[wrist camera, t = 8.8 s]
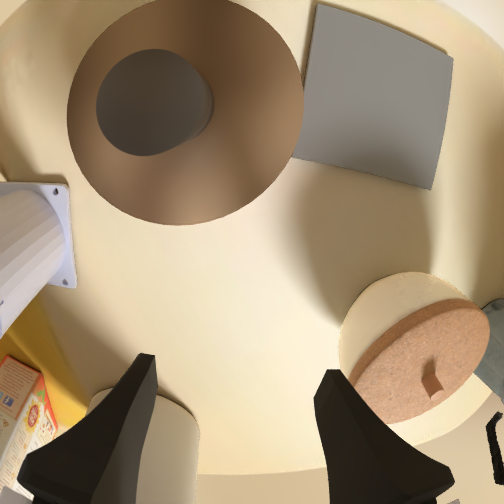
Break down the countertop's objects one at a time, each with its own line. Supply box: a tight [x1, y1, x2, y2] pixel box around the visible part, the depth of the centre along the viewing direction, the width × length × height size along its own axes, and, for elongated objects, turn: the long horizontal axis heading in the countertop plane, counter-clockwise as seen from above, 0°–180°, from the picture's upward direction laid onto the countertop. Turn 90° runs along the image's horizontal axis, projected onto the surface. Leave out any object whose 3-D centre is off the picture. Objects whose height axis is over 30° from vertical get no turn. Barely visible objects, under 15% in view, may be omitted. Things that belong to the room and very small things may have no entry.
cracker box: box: [0, 355, 58, 500], centre depth 18 cm, size 14×6×21 cm, turn 159°
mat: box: [291, 4, 453, 190], centre depth 15 cm, size 10×10×1 cm
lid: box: [67, 0, 304, 225], centre depth 9 cm, size 10×10×5 cm
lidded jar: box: [338, 272, 490, 424], centre depth 18 cm, size 11×11×9 cm
